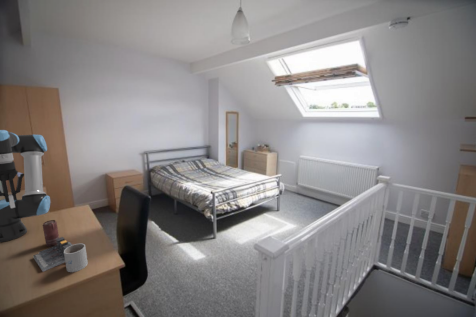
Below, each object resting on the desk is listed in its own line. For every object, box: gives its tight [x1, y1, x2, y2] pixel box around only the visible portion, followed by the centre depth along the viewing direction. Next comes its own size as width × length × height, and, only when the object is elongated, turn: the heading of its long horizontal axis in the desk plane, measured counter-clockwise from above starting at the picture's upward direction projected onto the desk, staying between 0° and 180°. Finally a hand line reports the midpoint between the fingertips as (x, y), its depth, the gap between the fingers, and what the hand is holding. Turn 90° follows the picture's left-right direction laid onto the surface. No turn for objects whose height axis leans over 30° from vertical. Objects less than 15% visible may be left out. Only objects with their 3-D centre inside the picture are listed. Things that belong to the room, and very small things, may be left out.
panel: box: [32, 241, 73, 273], centre depth 117 cm, size 17×16×2 cm
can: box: [42, 219, 60, 248], centre depth 127 cm, size 6×6×14 cm
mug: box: [64, 243, 89, 273], centre depth 110 cm, size 12×9×10 cm
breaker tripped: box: [60, 239, 69, 253], centre depth 119 cm, size 3×3×5 cm
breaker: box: [56, 236, 66, 249], centre depth 122 cm, size 3×3×5 cm
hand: (12, 207), depth 111 cm, fingers closed
